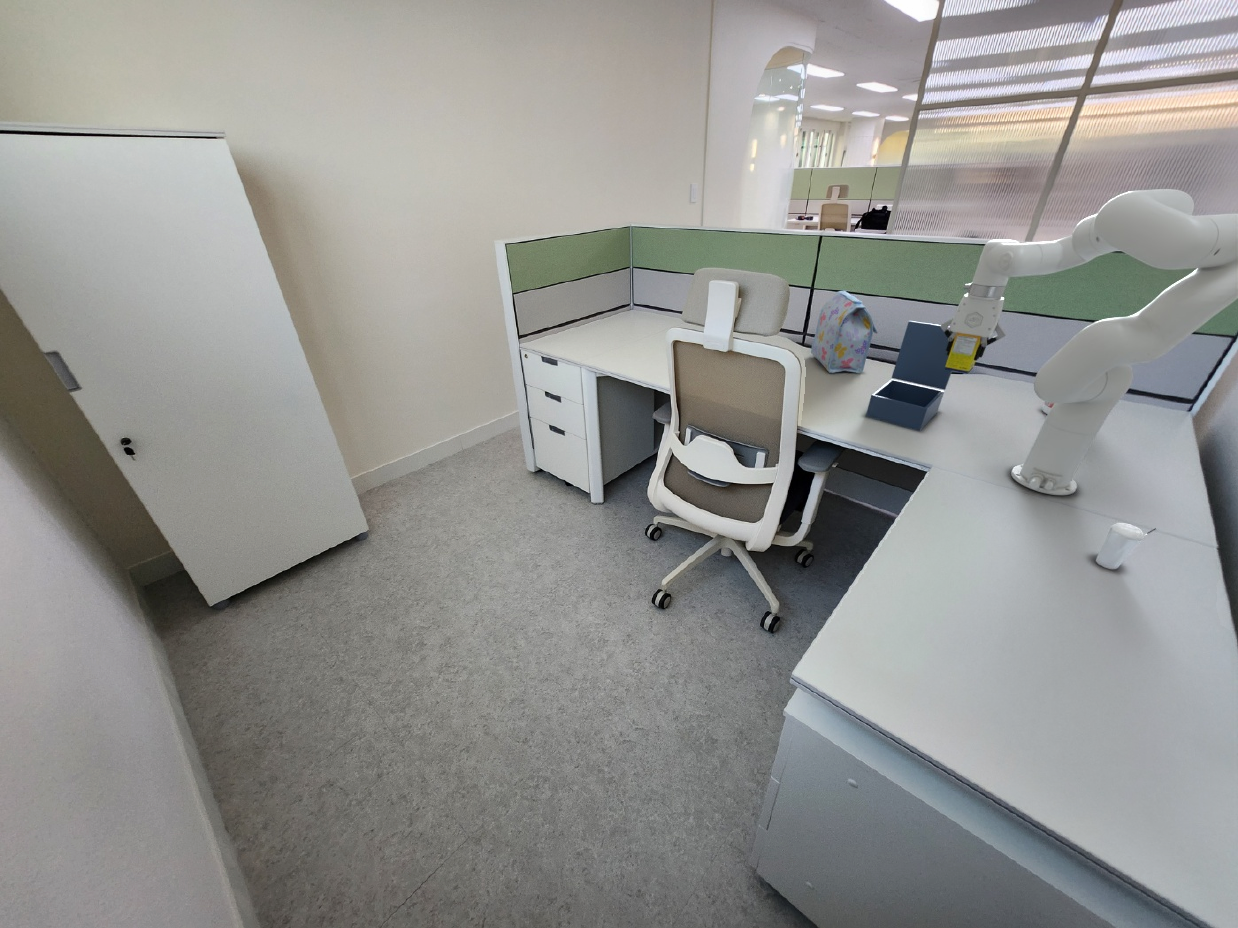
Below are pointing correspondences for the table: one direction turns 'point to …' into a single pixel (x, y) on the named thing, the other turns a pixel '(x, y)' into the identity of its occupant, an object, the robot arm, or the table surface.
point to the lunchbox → (904, 404)
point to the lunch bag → (843, 334)
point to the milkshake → (1119, 544)
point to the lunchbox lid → (923, 356)
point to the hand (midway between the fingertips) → (962, 356)
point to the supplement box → (963, 353)
